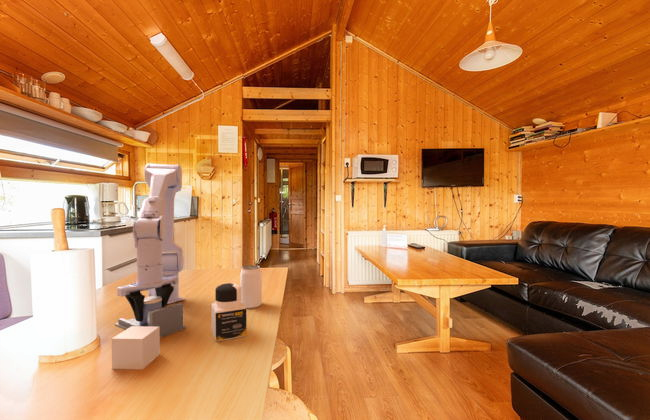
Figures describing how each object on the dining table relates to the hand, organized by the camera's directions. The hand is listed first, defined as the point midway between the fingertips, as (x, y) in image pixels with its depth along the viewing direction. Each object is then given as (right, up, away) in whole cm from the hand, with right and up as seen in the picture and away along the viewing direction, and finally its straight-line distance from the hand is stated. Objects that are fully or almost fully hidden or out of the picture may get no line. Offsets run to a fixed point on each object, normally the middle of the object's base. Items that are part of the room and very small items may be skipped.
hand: (150, 317), depth 81 cm
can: (+22, -2, +17) cm, 28 cm away
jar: (0, -2, 0) cm, 2 cm away
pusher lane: (0, -2, 0) cm, 2 cm away
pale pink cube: (+7, -3, -18) cm, 19 cm away
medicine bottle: (+22, -3, -4) cm, 22 cm away
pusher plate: (+3, -2, -2) cm, 4 cm away
